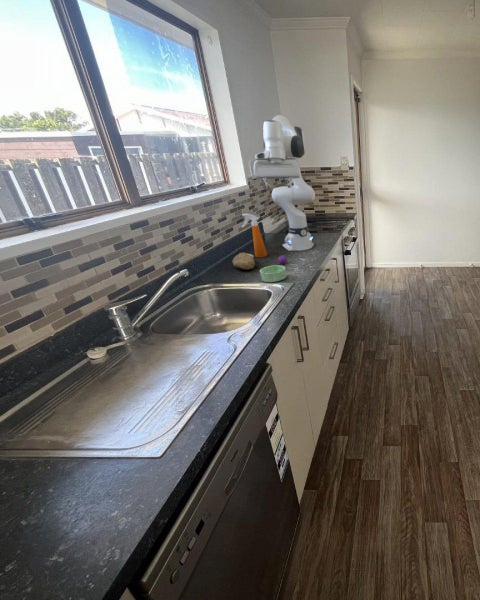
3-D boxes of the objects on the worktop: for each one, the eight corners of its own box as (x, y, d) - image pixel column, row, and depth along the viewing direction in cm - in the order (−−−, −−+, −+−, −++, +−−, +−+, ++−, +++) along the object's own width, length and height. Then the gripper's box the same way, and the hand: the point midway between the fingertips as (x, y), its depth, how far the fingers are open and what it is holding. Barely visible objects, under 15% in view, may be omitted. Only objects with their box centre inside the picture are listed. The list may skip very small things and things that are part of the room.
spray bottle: (247, 256, 202) (238, 213, 191) (265, 253, 207) (257, 211, 196) (250, 259, 196) (240, 215, 185) (268, 256, 202) (260, 212, 190)
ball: (277, 264, 188) (275, 255, 186) (285, 262, 191) (283, 253, 189) (281, 266, 185) (279, 257, 183) (289, 263, 188) (288, 255, 186)
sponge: (237, 264, 192) (225, 269, 173) (237, 251, 190) (226, 254, 171) (260, 267, 195) (252, 271, 176) (261, 253, 193) (253, 257, 174)
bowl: (257, 278, 168) (255, 269, 166) (279, 272, 175) (278, 263, 173) (268, 285, 160) (266, 275, 158) (291, 278, 168) (289, 269, 165)
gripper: (300, 159, 156) (302, 189, 157) (254, 160, 152) (257, 190, 153) (298, 154, 149) (301, 185, 151) (250, 155, 146) (254, 186, 147)
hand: (279, 187), depth 152 cm, fingers open, 8 cm apart
